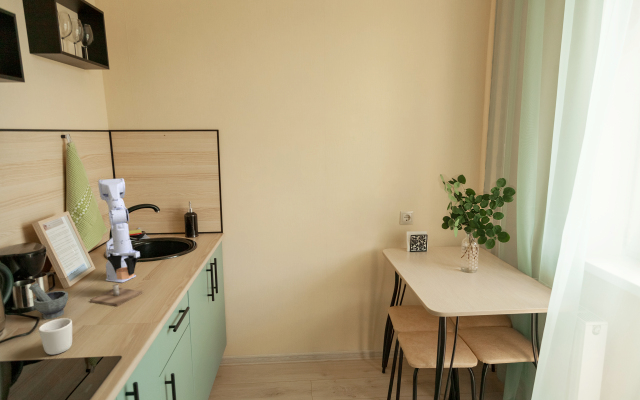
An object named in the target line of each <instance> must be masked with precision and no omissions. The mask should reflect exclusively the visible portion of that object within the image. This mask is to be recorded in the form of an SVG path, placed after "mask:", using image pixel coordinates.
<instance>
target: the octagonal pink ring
mask: <svg viewBox="0 0 640 400" xmlns="http://www.w3.org/2000/svg"><path fill="white" fill-rule="evenodd" d="M116 274H117V279H121V280H123V279H129V278H131V277H133V276H134V275H135V273H134V274H131V275H129V274H128V269H127V267H123V268H119V269H117V270H116ZM131 279H132V278H131ZM129 280H130V279H129Z"/></svg>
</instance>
